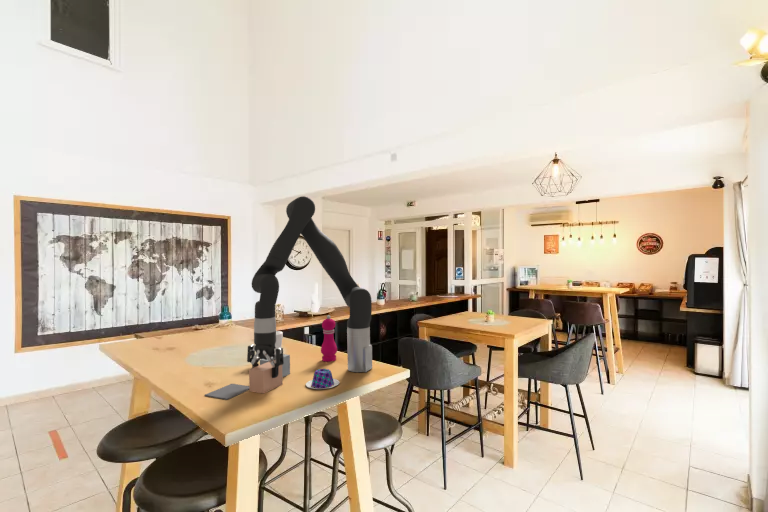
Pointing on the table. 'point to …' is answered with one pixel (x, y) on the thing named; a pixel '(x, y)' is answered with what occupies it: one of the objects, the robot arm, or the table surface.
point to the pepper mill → (328, 340)
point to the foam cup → (278, 339)
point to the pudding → (322, 379)
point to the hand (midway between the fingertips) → (265, 375)
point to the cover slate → (284, 367)
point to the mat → (228, 391)
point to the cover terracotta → (264, 378)
